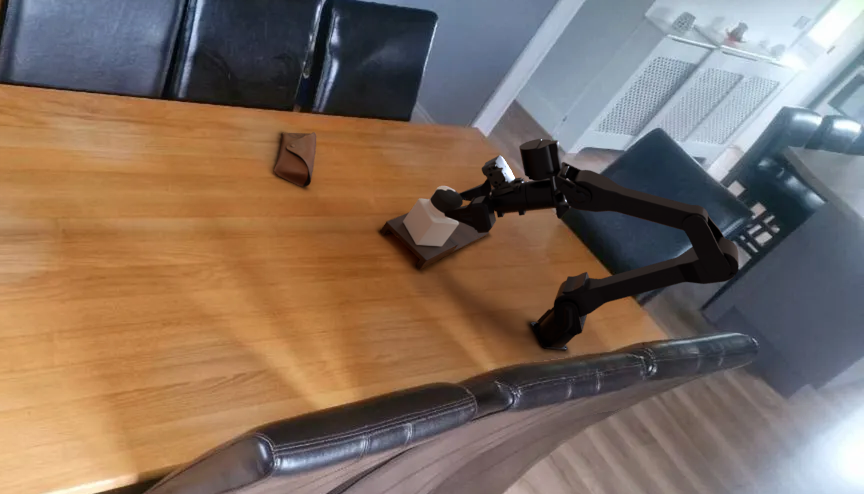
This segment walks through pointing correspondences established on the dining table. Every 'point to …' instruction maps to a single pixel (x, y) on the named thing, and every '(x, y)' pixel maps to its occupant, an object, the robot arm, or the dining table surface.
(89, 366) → the dining table surface
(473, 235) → the step shelf
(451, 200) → the medicine bottle
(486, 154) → the dining table surface
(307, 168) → the sunglasses case
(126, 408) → the dining table surface
